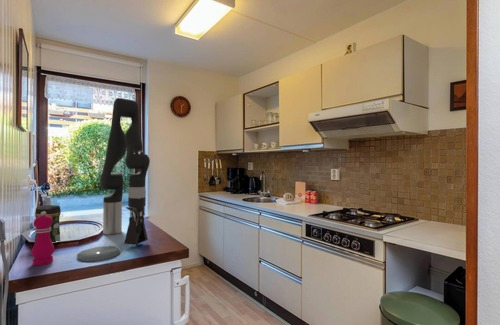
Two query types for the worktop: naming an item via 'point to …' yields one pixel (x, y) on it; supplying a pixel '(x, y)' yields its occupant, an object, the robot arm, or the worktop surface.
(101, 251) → the dish
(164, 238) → the worktop surface
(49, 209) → the coffee jar
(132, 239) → the door stopper
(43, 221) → the pepper mill
